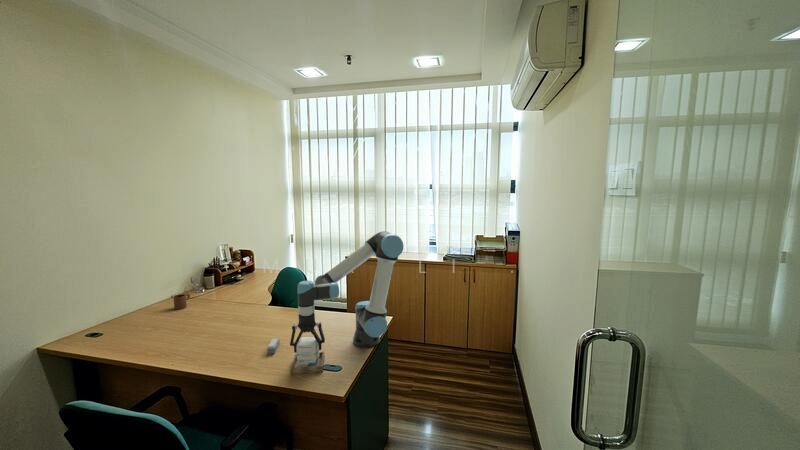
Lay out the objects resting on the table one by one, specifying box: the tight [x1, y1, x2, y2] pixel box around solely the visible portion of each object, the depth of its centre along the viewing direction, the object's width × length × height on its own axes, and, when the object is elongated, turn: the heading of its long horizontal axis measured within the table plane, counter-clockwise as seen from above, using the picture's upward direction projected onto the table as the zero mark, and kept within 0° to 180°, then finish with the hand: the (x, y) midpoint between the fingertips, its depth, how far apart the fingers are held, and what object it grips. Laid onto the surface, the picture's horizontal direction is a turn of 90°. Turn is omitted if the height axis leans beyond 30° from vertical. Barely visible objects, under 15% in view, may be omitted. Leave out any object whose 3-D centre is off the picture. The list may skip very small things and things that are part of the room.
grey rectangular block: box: [266, 337, 281, 355], centre depth 170 cm, size 10×4×4 cm, turn 7°
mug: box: [173, 292, 191, 311], centre depth 233 cm, size 12×8×9 cm, turn 166°
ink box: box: [296, 336, 318, 367], centre depth 153 cm, size 9×8×12 cm
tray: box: [290, 351, 325, 376], centre depth 154 cm, size 15×14×3 cm
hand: (308, 357), depth 154 cm, fingers closed on ink box, 9 cm apart
